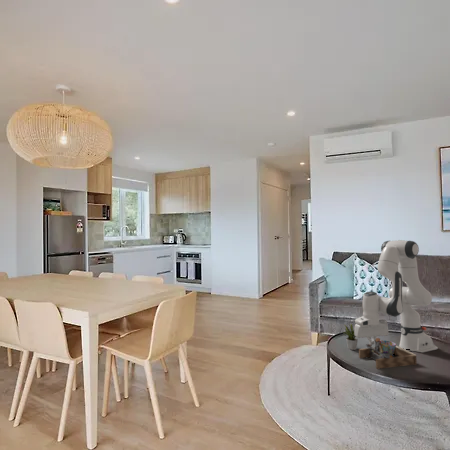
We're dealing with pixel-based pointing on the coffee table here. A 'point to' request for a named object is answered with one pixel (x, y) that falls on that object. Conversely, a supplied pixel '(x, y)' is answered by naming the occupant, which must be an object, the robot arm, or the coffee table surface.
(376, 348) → the ram
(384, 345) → the mug
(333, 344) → the coffee table surface
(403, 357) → the tray
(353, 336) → the house plant
